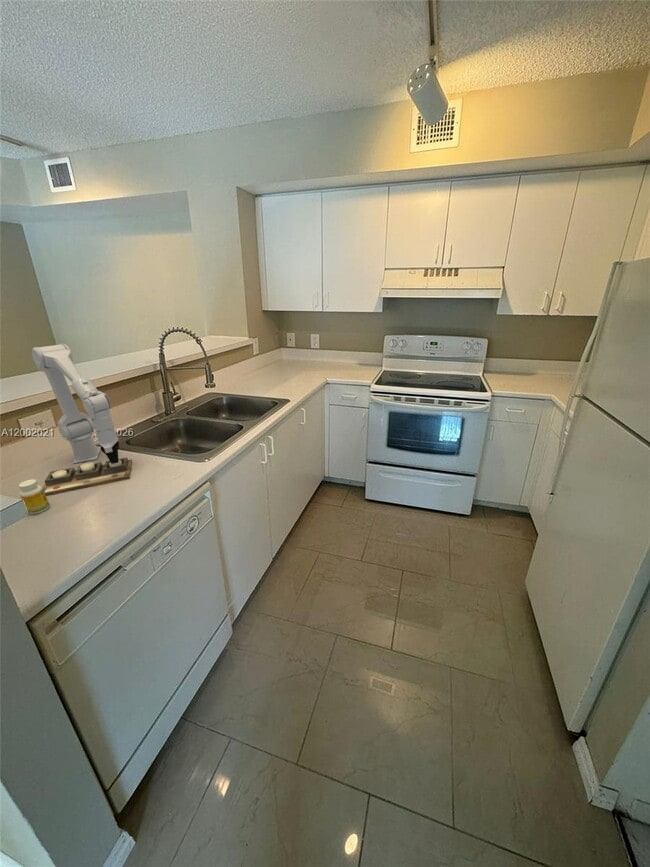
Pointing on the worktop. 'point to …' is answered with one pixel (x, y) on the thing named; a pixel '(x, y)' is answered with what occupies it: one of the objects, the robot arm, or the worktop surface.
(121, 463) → the button right
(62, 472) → the button left
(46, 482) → the board
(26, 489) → the supplement bottle
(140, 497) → the worktop surface
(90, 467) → the button middle
